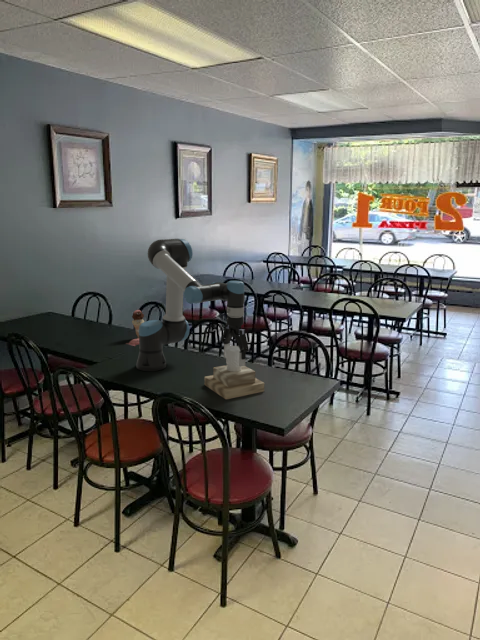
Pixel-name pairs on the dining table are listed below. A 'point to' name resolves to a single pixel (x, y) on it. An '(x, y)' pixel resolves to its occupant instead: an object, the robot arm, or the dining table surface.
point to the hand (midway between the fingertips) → (234, 361)
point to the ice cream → (136, 325)
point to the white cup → (233, 358)
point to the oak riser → (233, 382)
